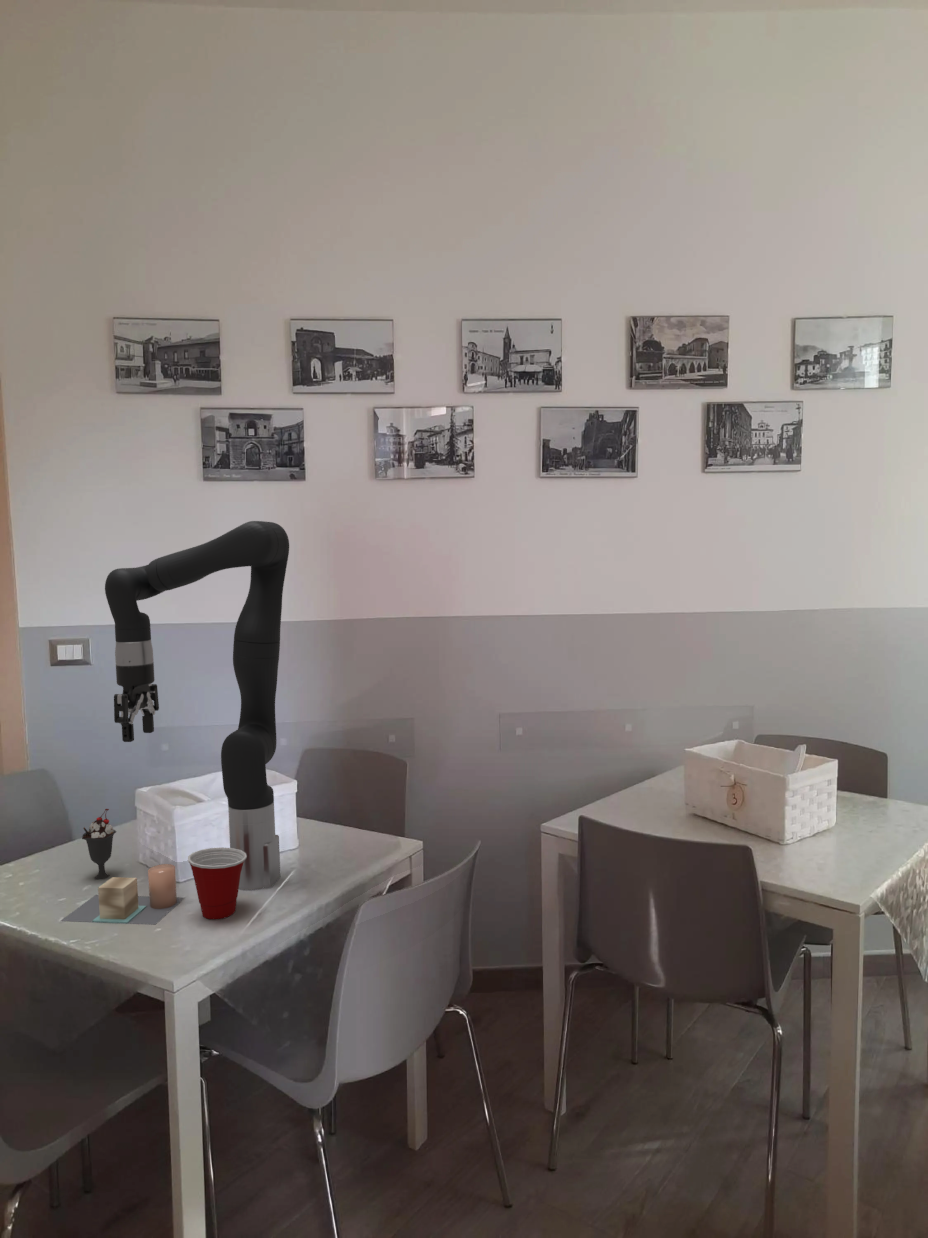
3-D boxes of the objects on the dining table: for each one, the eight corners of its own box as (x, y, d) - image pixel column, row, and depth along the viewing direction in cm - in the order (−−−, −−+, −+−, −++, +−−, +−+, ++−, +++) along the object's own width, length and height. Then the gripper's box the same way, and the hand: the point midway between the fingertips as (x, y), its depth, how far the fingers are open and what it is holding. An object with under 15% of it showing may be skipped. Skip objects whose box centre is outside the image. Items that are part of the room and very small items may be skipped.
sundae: (125, 873, 182) (121, 806, 181) (108, 886, 175) (104, 816, 174) (96, 873, 183) (91, 806, 181) (79, 885, 176) (74, 815, 175)
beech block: (138, 908, 162) (136, 878, 162) (124, 919, 157) (123, 888, 157) (114, 907, 163) (112, 877, 162) (100, 918, 158) (98, 887, 157)
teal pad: (146, 907, 163) (146, 906, 163) (127, 923, 156) (127, 922, 156) (112, 906, 164) (112, 904, 164) (92, 922, 157) (92, 920, 157)
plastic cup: (256, 919, 158) (253, 857, 157) (197, 933, 153) (194, 869, 152) (241, 899, 167) (238, 840, 166) (185, 911, 162) (182, 851, 161)
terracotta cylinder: (181, 898, 167) (179, 864, 166) (169, 909, 162) (167, 874, 161) (157, 897, 167) (155, 863, 167) (145, 908, 162) (143, 873, 162)
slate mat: (185, 900, 167) (184, 897, 167) (155, 927, 155) (155, 924, 155) (96, 897, 170) (96, 894, 170) (60, 924, 158) (60, 921, 158)
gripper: (134, 666, 170) (138, 745, 172) (167, 657, 184) (171, 729, 186) (99, 666, 171) (104, 744, 173) (135, 657, 185) (139, 729, 187)
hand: (138, 737), depth 179 cm, fingers open, 8 cm apart
